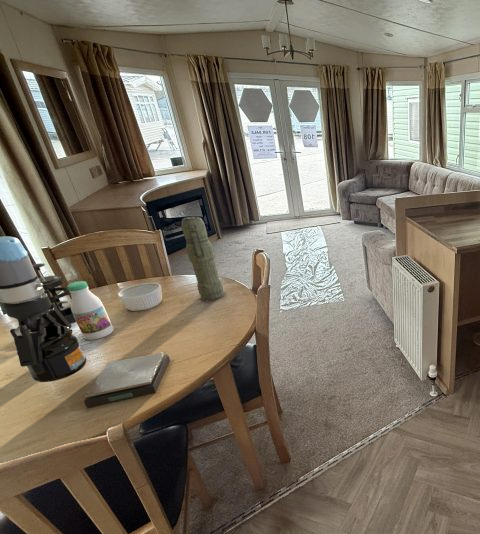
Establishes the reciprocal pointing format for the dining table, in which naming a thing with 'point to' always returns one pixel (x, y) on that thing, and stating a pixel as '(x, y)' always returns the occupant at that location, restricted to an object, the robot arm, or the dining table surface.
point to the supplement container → (61, 352)
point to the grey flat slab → (126, 374)
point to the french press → (49, 287)
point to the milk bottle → (89, 312)
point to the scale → (130, 389)
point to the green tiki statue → (202, 258)
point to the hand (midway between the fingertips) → (60, 366)
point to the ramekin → (141, 296)
